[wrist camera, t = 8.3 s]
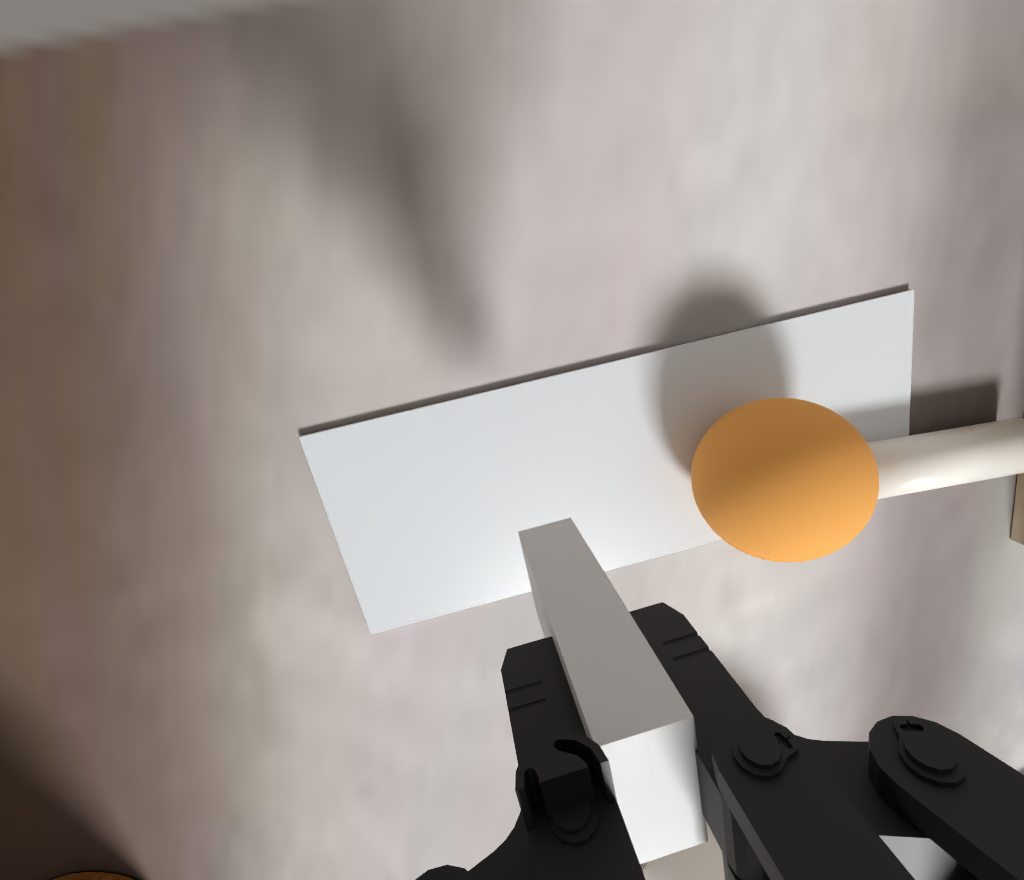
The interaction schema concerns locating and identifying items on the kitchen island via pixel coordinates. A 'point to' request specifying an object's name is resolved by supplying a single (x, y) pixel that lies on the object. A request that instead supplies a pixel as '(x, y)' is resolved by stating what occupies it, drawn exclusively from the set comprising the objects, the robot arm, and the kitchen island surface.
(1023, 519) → the backstop
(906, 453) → the pin
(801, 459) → the ball
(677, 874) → the lidded jar
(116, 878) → the disposable coffee cup
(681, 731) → the robot arm
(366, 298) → the kitchen island surface
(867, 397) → the plate
